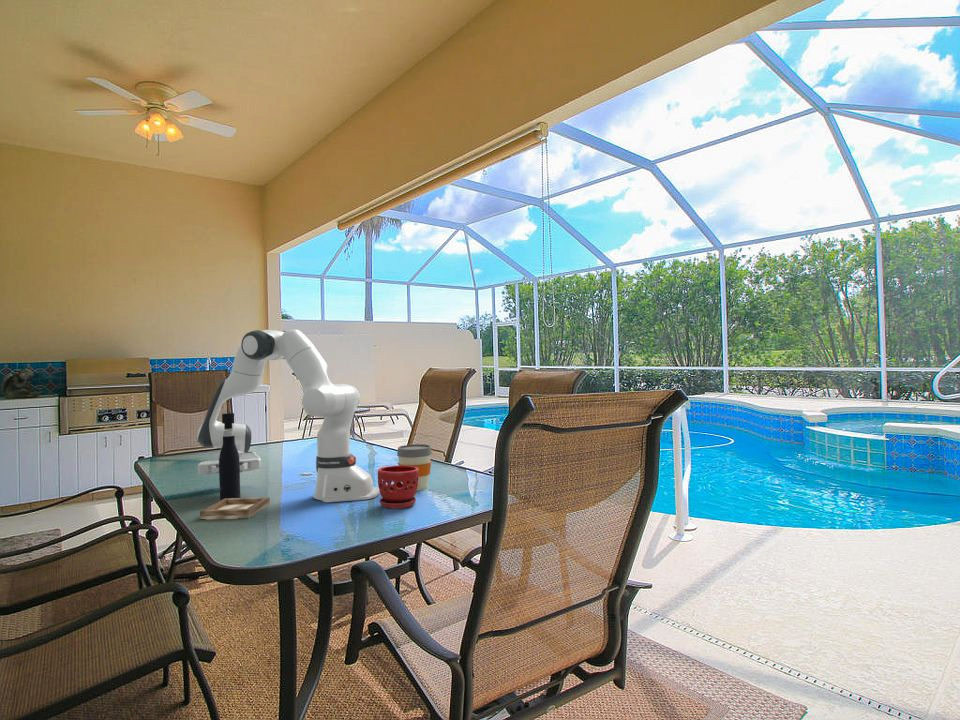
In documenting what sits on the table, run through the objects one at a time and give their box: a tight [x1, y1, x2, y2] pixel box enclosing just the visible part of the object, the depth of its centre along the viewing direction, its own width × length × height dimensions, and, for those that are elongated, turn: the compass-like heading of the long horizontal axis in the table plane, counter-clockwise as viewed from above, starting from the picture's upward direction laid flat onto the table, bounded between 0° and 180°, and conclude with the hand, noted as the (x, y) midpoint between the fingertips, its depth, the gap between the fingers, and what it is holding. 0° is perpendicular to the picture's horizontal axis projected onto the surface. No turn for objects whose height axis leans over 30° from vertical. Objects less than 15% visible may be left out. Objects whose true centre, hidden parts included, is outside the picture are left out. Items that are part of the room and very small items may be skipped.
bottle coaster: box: [199, 497, 271, 520], centre depth 166 cm, size 15×15×2 cm
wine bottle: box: [218, 412, 241, 501], centre depth 180 cm, size 6×6×30 cm
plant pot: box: [377, 465, 419, 510], centre depth 169 cm, size 13×13×12 cm
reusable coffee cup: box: [396, 443, 433, 492], centre depth 192 cm, size 13×13×15 cm
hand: (229, 469), depth 179 cm, fingers closed on wine bottle, 6 cm apart
